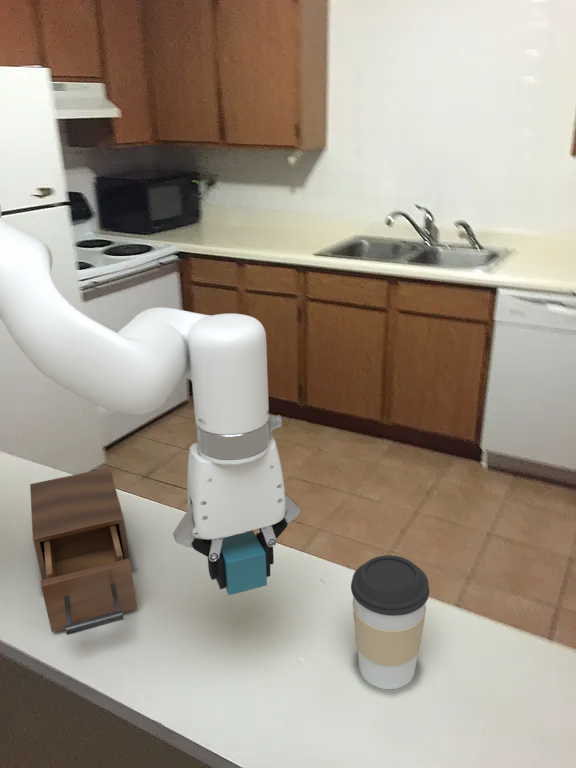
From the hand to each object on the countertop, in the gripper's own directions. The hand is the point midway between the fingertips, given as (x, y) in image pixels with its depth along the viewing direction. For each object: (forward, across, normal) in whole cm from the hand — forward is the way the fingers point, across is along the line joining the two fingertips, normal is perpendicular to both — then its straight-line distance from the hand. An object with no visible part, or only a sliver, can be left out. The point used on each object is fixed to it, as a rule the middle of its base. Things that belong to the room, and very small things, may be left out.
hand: (241, 573), depth 76 cm
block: (+1, 0, 0) cm, 1 cm away
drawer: (+15, +17, -20) cm, 30 cm away
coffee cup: (+16, -16, +5) cm, 23 cm away
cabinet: (+16, +17, -34) cm, 41 cm away
